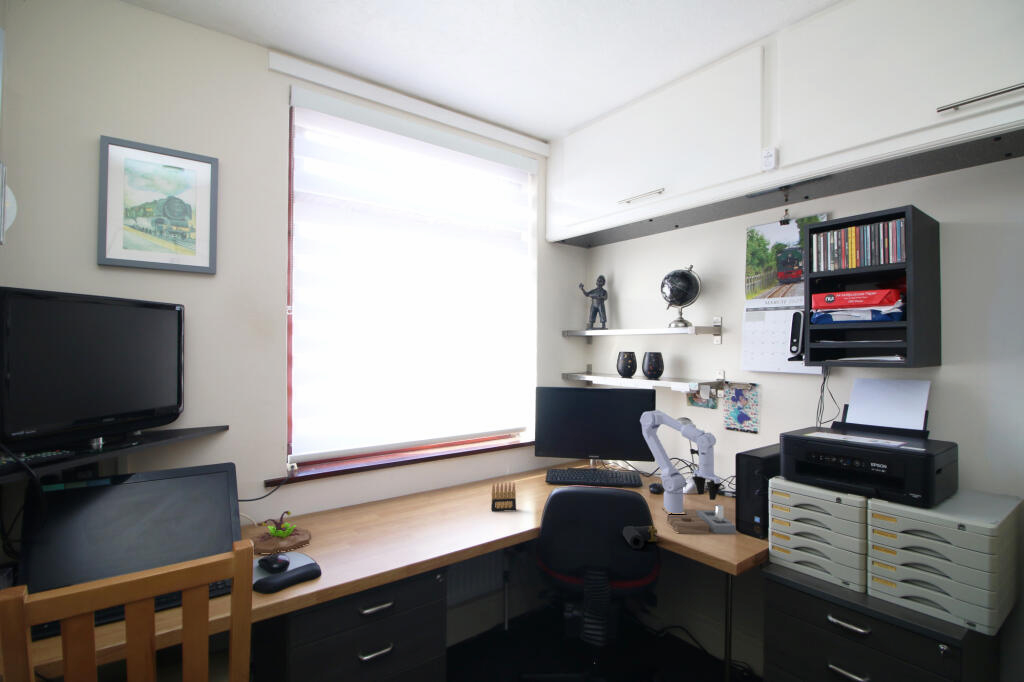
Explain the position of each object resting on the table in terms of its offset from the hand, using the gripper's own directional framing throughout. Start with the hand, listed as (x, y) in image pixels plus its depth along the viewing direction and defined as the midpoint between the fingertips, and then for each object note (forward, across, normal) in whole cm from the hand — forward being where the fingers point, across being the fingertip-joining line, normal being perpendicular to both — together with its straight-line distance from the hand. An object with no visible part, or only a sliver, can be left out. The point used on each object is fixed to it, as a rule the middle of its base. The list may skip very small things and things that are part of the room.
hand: (706, 496), depth 201 cm
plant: (+10, -17, -163) cm, 164 cm away
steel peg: (+9, +10, -2) cm, 14 cm away
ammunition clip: (+10, -33, -77) cm, 84 cm away
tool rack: (+9, +6, -1) cm, 11 cm away
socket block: (+9, +6, -13) cm, 17 cm away
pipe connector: (+10, +13, -37) cm, 41 cm away
